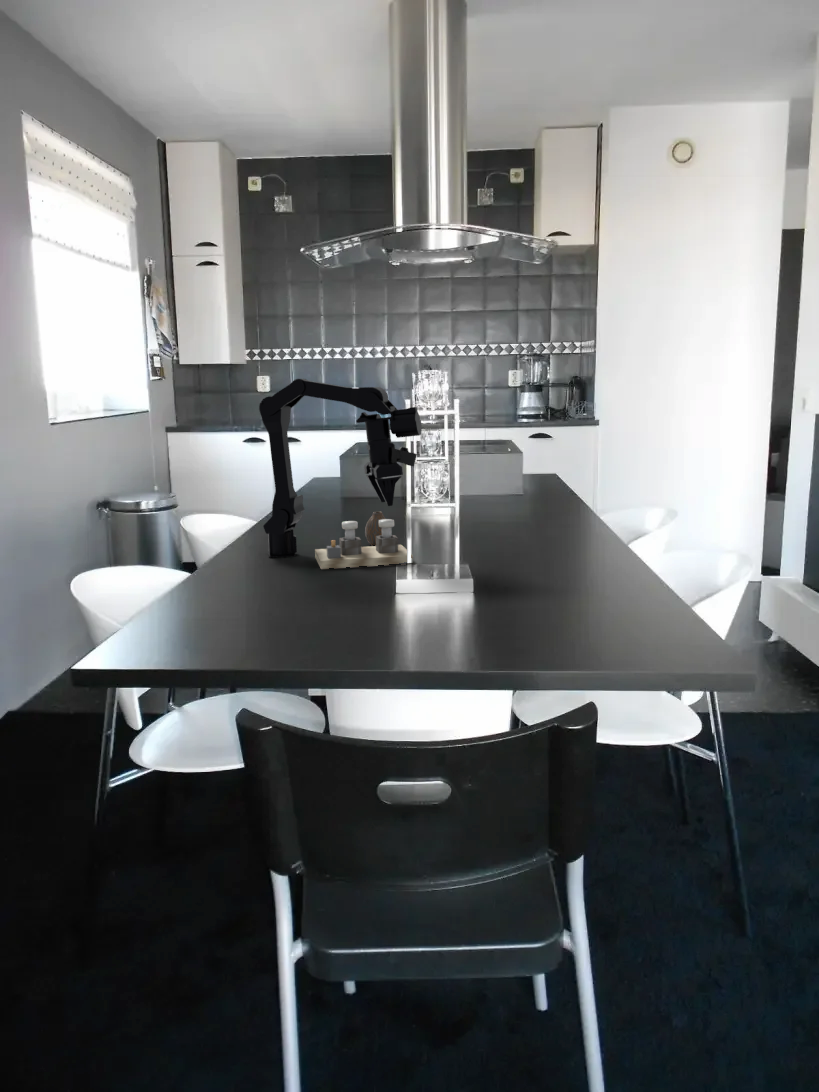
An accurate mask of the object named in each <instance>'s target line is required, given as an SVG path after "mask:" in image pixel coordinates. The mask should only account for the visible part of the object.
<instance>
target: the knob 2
mask: <svg viewBox="0 0 819 1092" xmlns="http://www.w3.org/2000/svg"><path fill="white" fill-rule="evenodd" d="M379 527H382V538H392V535H393V534H392V528H393V527H395V520H394V519H391V518H386V519H382V520H379Z"/></svg>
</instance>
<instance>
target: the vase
mask: <svg viewBox="0 0 819 1092" xmlns="http://www.w3.org/2000/svg"><path fill="white" fill-rule="evenodd" d="M382 519H387V518H386V517H385V516H384V513H383V512H382V511H373V512H372V515H371V516H370V517H369V519H368V521H367V522H366V523H365V524H366V525H365V529H364V535H365V539H366V541H367V542H368V544H369V545H371V546H373V545H375V546H376V536H381V535H382V527H379V520H382Z"/></svg>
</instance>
